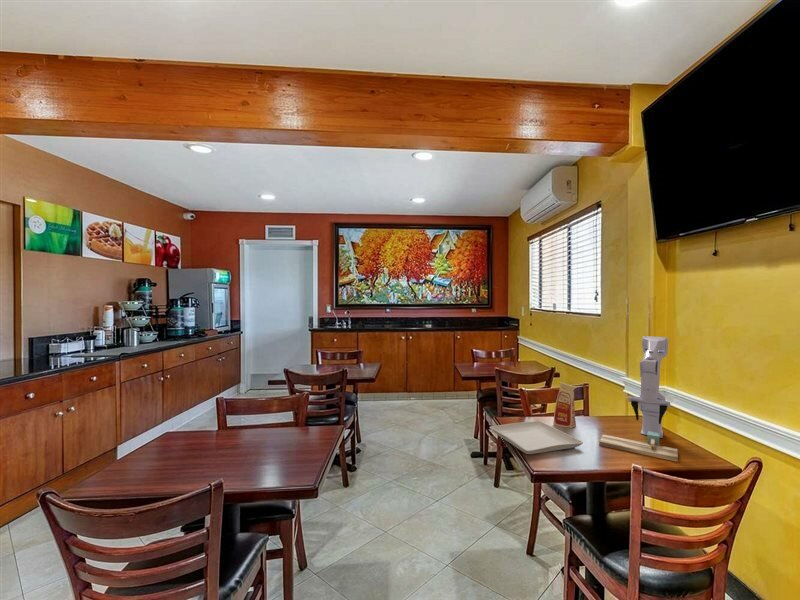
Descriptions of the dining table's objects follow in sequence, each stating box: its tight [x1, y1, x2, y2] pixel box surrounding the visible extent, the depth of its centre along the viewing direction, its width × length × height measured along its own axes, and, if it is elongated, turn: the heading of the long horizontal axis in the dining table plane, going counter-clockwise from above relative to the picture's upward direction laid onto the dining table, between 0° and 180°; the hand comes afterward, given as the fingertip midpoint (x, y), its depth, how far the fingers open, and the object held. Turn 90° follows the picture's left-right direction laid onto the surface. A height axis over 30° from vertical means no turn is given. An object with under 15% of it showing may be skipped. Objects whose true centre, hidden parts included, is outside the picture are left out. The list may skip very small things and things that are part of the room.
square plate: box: [489, 420, 584, 455], centre depth 159 cm, size 27×27×4 cm
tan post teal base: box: [646, 431, 660, 448], centre depth 153 cm, size 12×4×5 cm, turn 144°
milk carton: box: [552, 381, 577, 429], centre depth 181 cm, size 9×9×20 cm
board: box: [598, 434, 679, 463], centre depth 152 cm, size 10×26×2 cm, turn 54°
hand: (648, 421), depth 157 cm, fingers open, 7 cm apart
